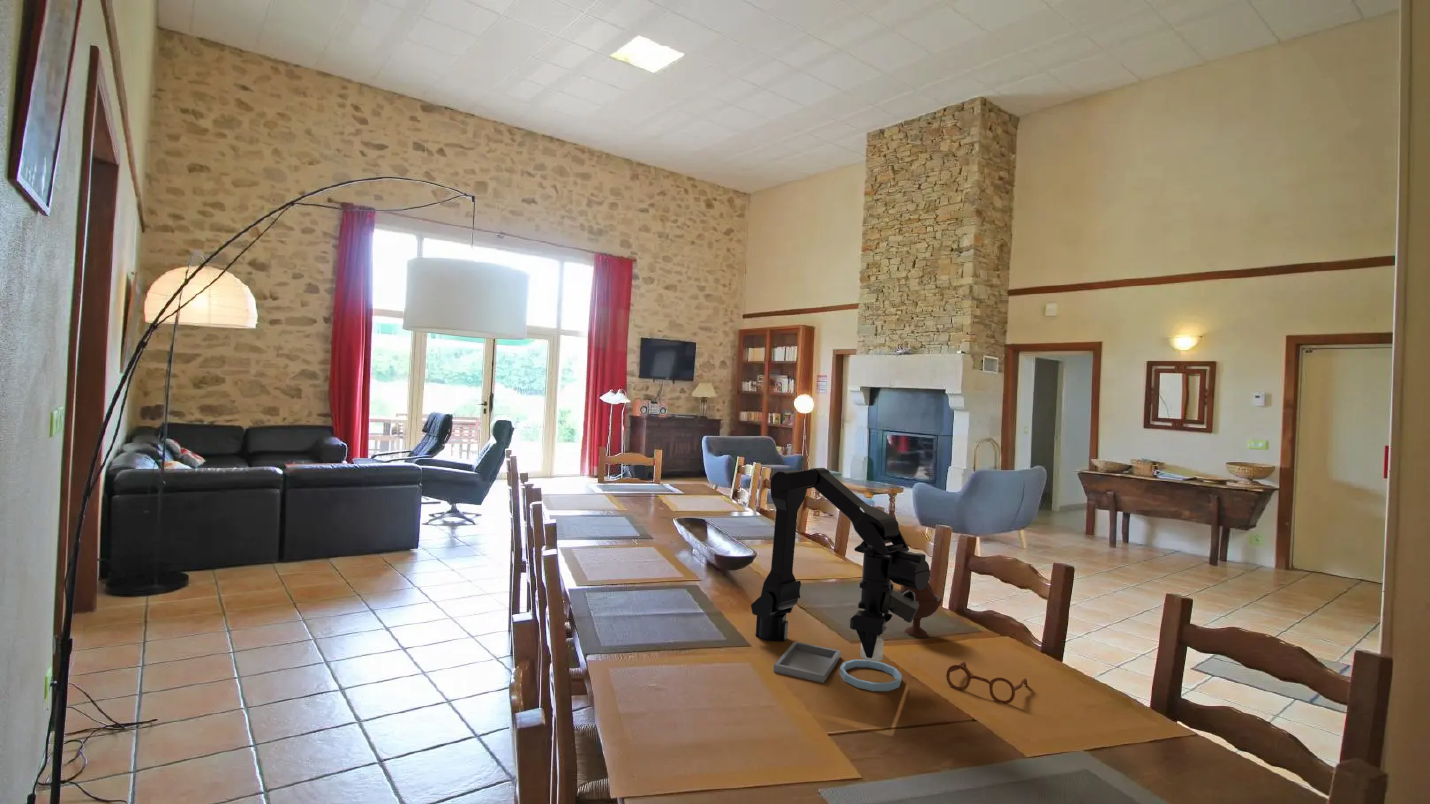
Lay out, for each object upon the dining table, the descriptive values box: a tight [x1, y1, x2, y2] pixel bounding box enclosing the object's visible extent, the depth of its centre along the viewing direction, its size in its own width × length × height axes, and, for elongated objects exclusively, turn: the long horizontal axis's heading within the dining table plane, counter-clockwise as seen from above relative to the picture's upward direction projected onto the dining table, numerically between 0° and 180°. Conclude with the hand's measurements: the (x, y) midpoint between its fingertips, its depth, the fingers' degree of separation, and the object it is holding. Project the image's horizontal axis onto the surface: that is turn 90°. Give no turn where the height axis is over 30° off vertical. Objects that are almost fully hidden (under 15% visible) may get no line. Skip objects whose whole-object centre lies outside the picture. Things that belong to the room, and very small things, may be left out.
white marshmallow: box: [859, 635, 885, 662], centre depth 139 cm, size 4×4×4 cm
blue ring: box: [839, 658, 903, 692], centre depth 139 cm, size 12×12×2 cm
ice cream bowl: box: [896, 582, 942, 639], centre depth 169 cm, size 11×11×15 cm
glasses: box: [945, 661, 1028, 705], centre depth 141 cm, size 13×13×5 cm
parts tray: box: [773, 641, 842, 684], centre depth 144 cm, size 10×15×2 cm
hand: (871, 653), depth 139 cm, fingers closed on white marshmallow, 4 cm apart
